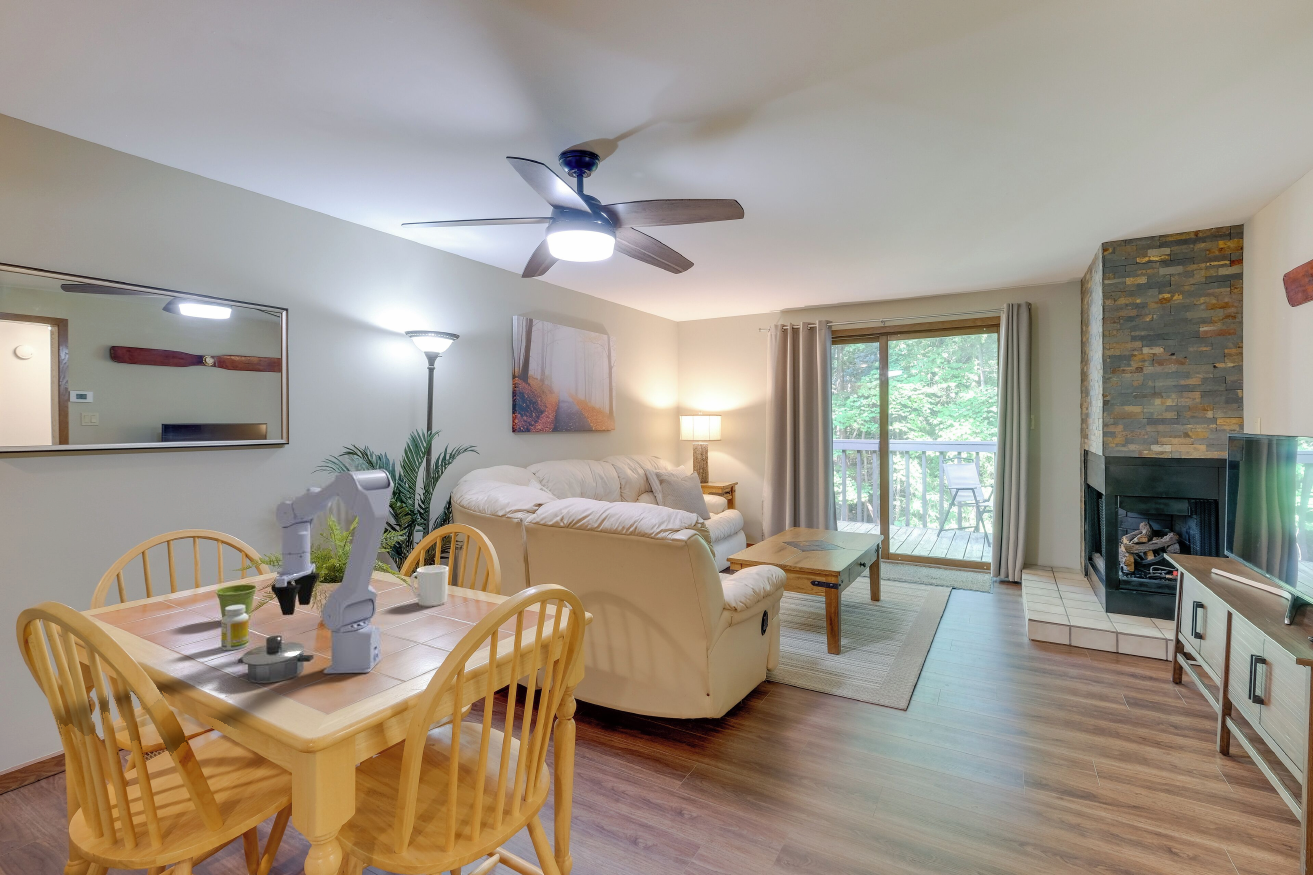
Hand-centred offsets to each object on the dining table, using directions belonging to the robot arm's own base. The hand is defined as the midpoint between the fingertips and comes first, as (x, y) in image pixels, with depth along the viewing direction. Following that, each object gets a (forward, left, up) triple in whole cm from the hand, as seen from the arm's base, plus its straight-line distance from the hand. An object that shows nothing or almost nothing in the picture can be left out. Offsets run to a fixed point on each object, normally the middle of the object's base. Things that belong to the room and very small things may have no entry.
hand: (296, 609), depth 144 cm
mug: (-20, -37, -10) cm, 43 cm away
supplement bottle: (+16, -4, -10) cm, 19 cm away
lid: (-2, +13, -7) cm, 15 cm away
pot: (-2, +13, -10) cm, 16 cm away
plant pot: (+27, -24, -10) cm, 38 cm away
